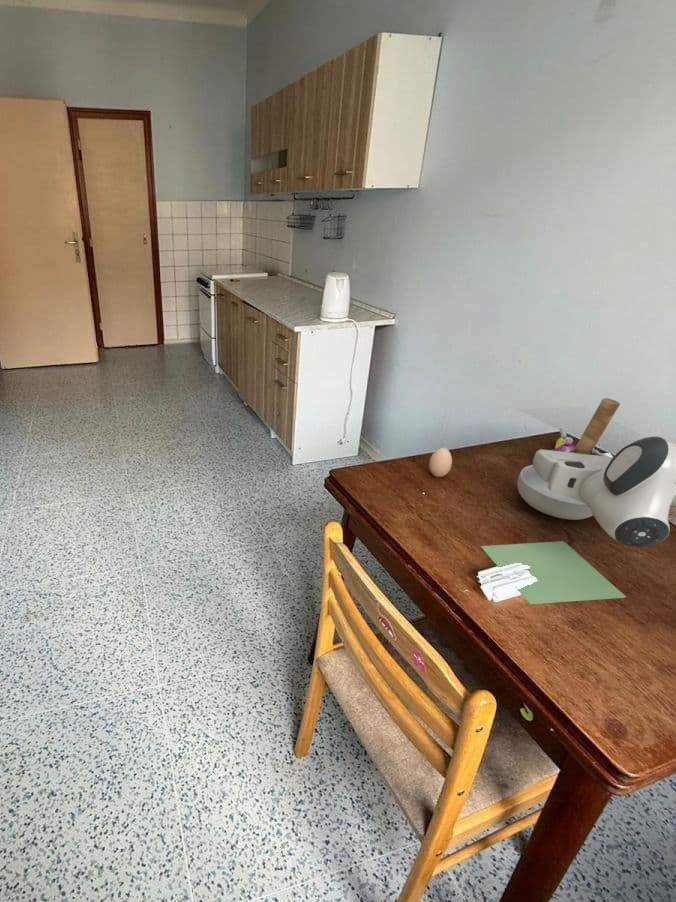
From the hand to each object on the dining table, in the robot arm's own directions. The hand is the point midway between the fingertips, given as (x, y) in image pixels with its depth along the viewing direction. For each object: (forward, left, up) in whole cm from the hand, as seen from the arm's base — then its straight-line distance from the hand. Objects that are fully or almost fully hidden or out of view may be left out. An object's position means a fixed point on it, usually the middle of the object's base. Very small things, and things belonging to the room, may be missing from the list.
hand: (579, 451), depth 102 cm
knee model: (-16, -21, -15) cm, 31 cm away
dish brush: (+1, +1, -8) cm, 8 cm away
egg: (+21, -17, -15) cm, 31 cm away
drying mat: (+17, +20, -15) cm, 30 cm away
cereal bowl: (+2, 0, -15) cm, 15 cm away
